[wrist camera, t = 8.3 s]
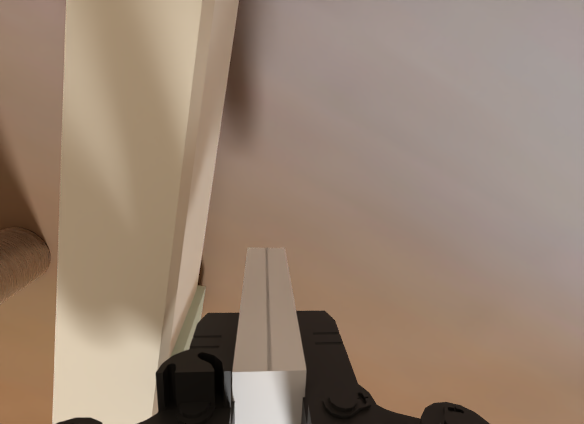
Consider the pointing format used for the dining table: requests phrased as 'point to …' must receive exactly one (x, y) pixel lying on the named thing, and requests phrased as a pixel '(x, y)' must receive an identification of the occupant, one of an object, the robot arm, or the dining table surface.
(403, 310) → the dining table surface
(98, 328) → the gate
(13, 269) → the gate posts
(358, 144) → the dining table surface
